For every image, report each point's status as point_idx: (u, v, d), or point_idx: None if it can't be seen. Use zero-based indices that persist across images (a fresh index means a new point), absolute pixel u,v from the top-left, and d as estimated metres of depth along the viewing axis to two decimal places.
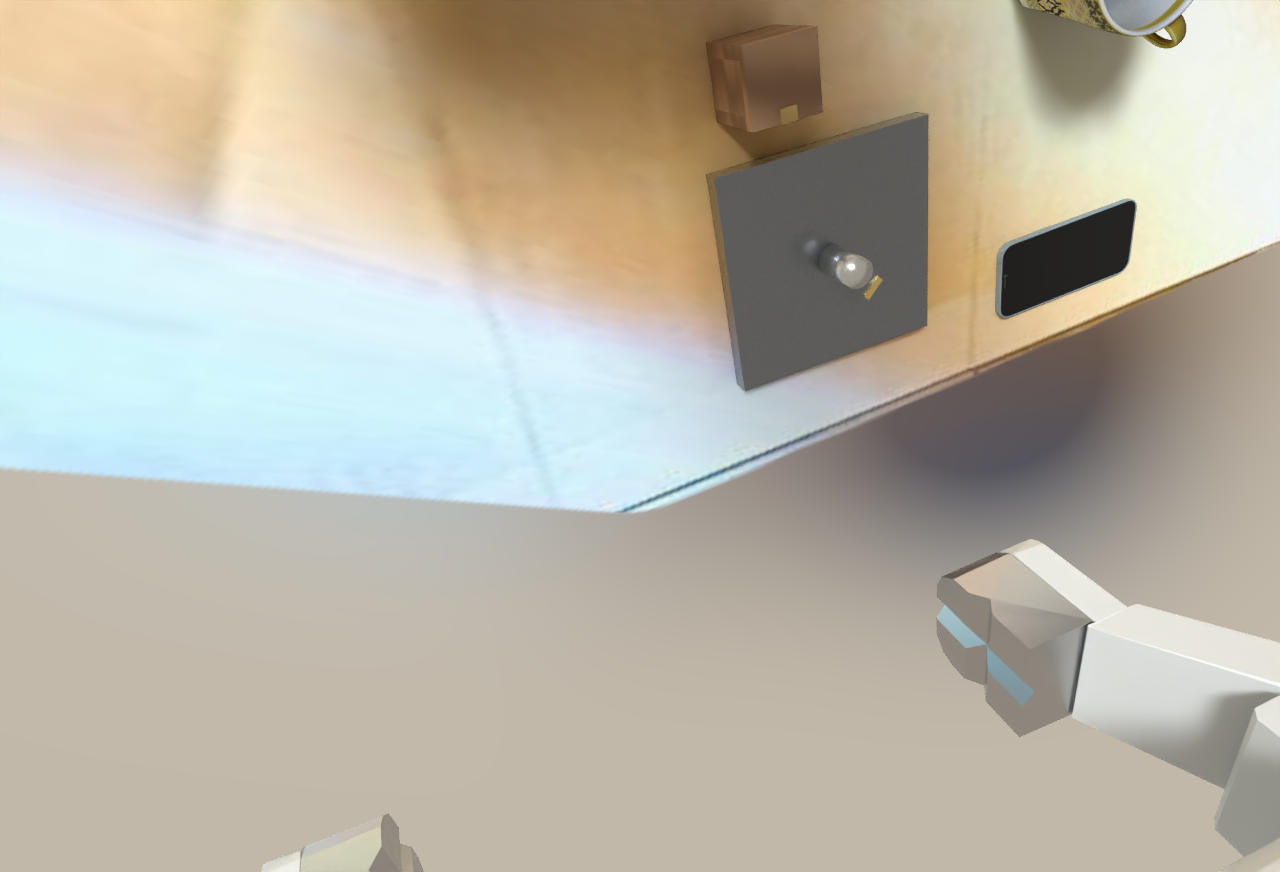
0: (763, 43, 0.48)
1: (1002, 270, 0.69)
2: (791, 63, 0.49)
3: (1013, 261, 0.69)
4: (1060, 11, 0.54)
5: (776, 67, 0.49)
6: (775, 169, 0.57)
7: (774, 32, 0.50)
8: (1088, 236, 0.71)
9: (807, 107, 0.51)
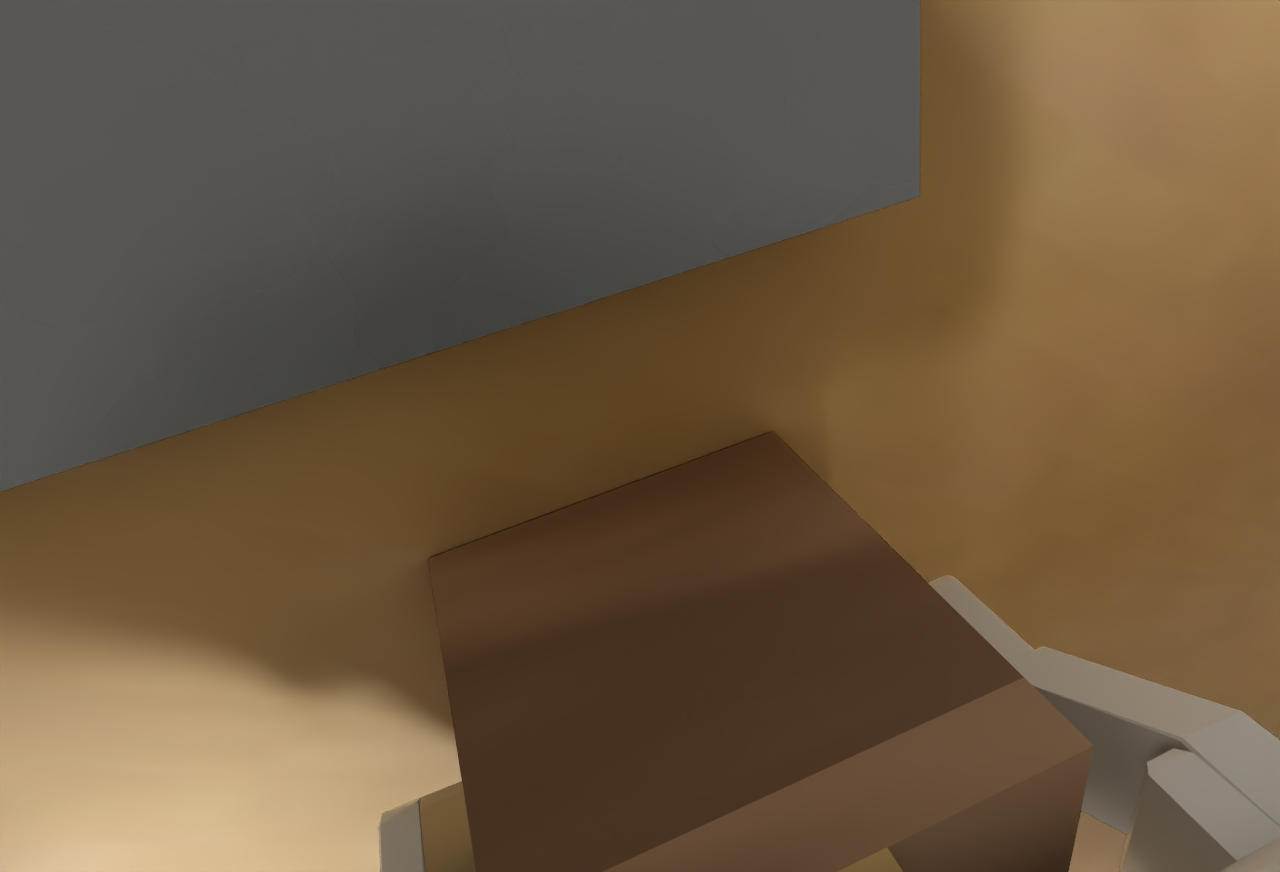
0: None
1: None
2: None
3: None
4: None
5: None
6: (474, 269, 0.07)
7: None
8: None
9: None
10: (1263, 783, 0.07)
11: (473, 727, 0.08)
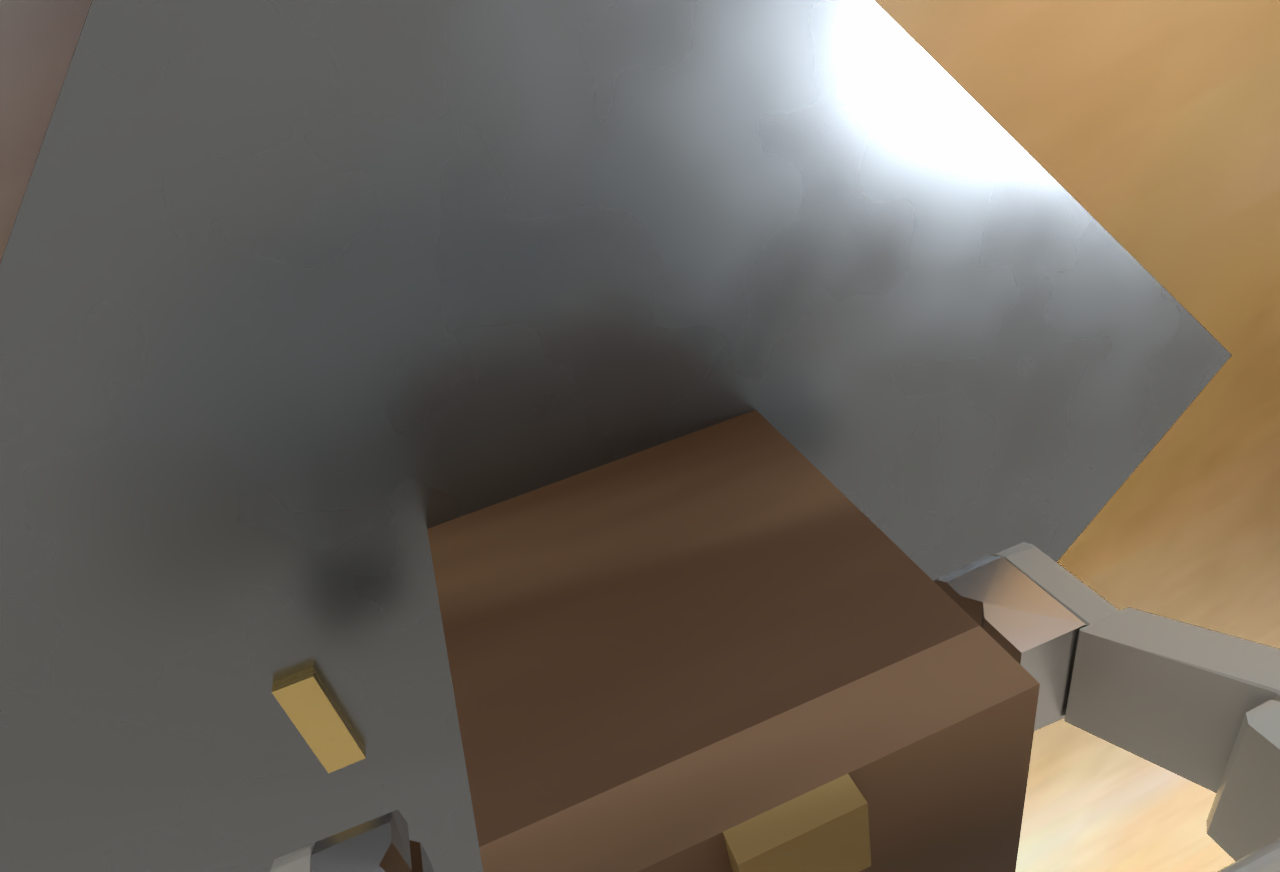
0: None
1: None
2: None
3: None
4: None
5: None
6: (1051, 540, 0.16)
7: None
8: None
9: None
10: None
11: (469, 676, 0.08)
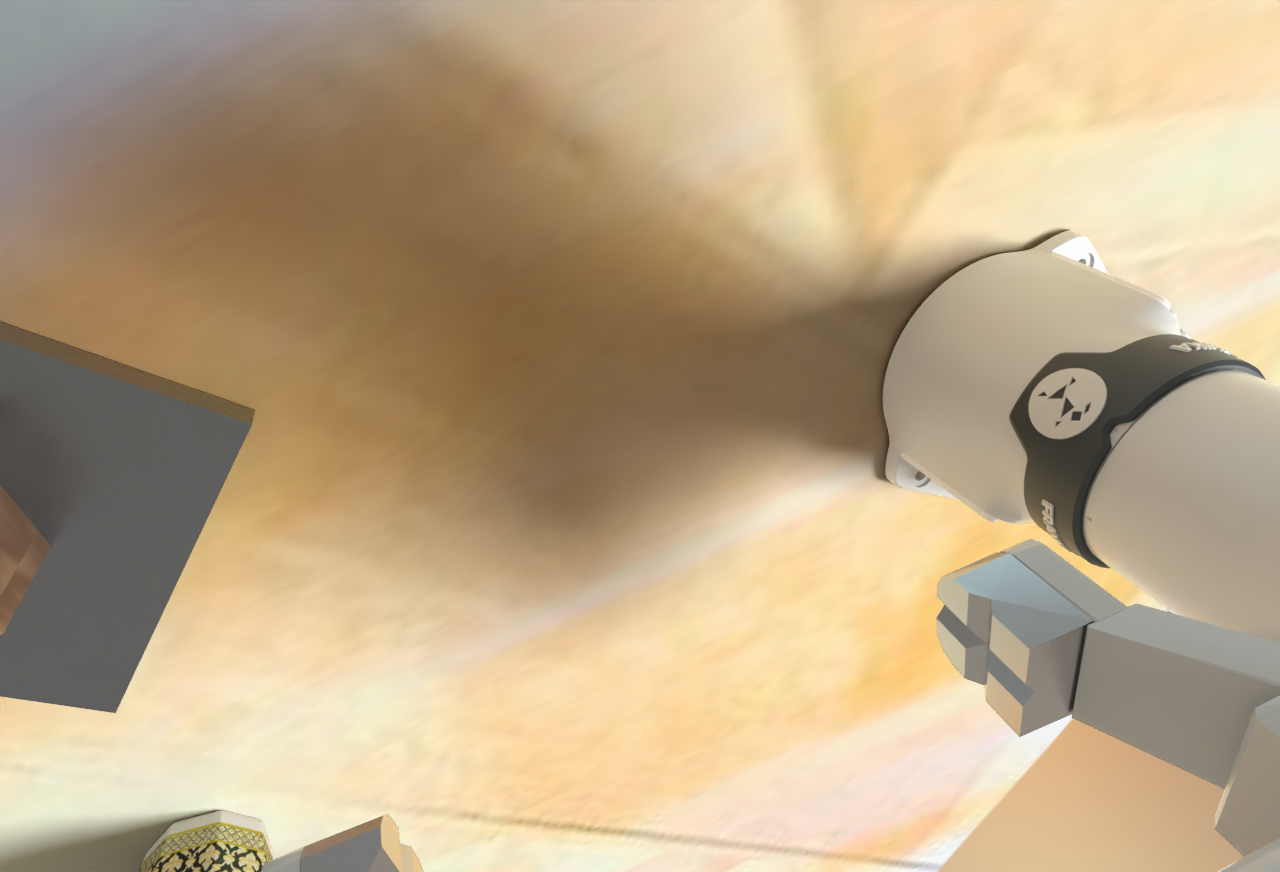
0: None
1: None
2: None
3: None
4: None
5: None
6: (196, 505, 0.35)
7: None
8: None
9: None
10: None
11: None
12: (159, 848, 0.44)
